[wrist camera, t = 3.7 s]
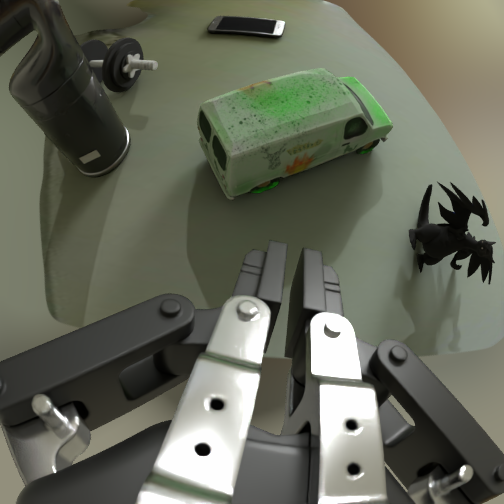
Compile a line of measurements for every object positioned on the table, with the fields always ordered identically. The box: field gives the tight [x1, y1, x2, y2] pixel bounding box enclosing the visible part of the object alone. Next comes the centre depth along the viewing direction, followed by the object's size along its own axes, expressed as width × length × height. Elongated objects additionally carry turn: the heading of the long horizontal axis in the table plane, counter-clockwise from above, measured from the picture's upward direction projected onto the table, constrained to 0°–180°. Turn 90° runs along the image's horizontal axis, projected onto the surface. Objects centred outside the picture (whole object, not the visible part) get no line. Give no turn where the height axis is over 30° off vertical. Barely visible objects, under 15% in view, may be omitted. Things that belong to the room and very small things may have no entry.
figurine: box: [409, 182, 496, 285], centre depth 29 cm, size 16×13×11 cm
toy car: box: [197, 68, 393, 200], centre depth 33 cm, size 11×25×10 cm, turn 116°
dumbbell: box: [80, 38, 158, 92], centre depth 37 cm, size 22×10×10 cm, turn 70°
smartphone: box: [207, 16, 285, 38], centre depth 45 cm, size 7×15×1 cm, turn 79°
